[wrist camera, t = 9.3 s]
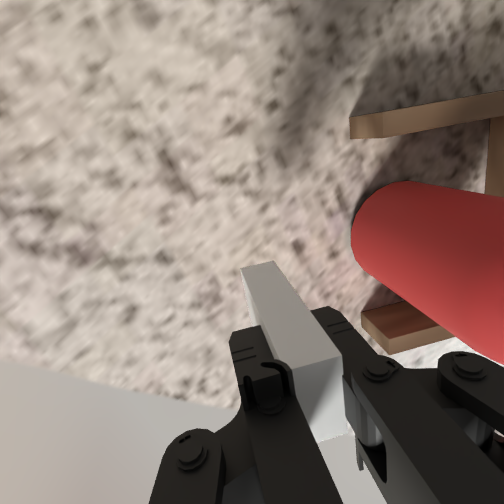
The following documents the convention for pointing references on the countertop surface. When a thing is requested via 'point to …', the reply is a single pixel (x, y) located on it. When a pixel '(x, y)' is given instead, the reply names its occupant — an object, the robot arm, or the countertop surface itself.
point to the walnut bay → (497, 184)
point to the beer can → (439, 256)
